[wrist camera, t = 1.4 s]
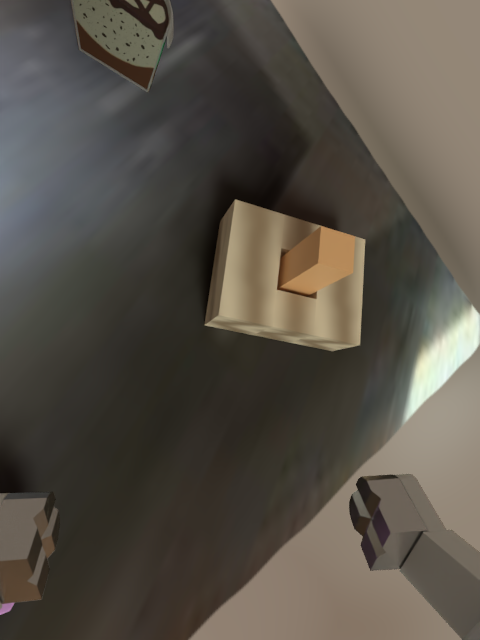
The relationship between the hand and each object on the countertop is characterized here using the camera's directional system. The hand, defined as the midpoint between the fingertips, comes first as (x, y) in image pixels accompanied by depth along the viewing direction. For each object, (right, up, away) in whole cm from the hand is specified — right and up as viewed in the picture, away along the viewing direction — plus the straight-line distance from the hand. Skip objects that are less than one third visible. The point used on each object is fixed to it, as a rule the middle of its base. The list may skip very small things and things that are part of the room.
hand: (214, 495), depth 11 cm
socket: (+6, +9, +41) cm, 42 cm away
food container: (-14, +39, +40) cm, 58 cm away
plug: (+6, +9, +41) cm, 42 cm away
